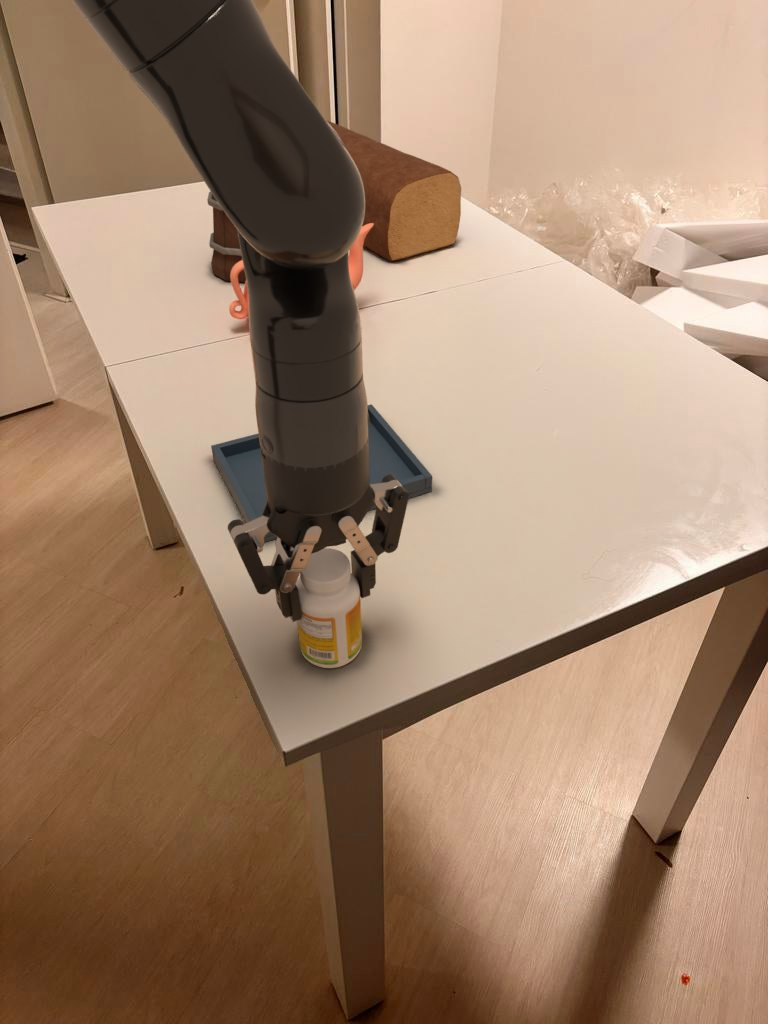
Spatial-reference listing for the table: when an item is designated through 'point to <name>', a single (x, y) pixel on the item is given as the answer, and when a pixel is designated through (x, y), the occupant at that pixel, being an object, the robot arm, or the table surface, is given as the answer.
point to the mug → (224, 243)
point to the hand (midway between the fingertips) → (327, 601)
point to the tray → (385, 457)
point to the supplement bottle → (329, 610)
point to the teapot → (354, 271)
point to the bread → (403, 198)
